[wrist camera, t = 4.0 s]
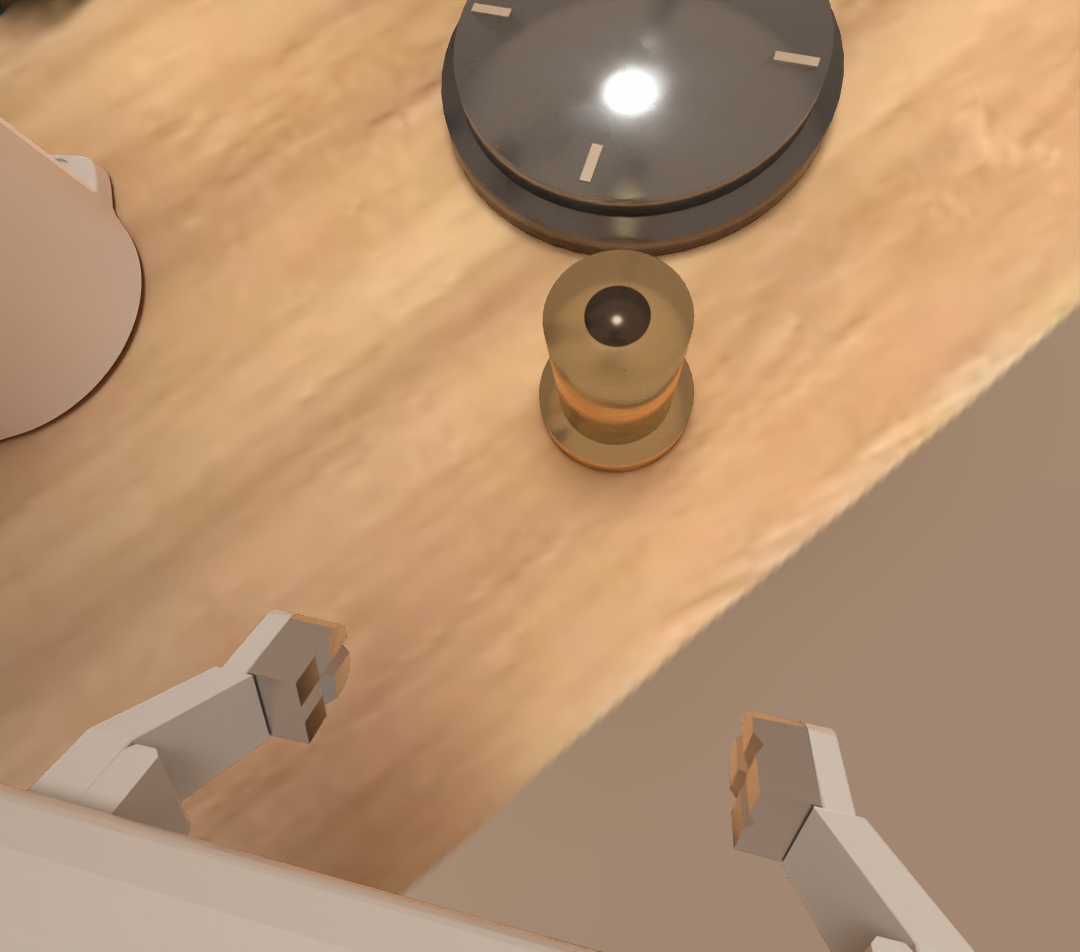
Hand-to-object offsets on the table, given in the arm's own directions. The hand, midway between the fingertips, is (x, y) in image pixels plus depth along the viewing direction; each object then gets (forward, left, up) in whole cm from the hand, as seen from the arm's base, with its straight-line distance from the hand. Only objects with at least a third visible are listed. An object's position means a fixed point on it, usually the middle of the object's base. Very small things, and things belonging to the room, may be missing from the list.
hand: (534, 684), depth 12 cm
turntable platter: (-5, +28, -12) cm, 31 cm away
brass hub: (-1, +11, -14) cm, 18 cm away
